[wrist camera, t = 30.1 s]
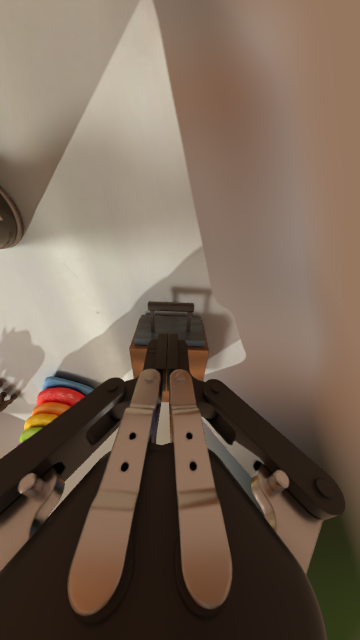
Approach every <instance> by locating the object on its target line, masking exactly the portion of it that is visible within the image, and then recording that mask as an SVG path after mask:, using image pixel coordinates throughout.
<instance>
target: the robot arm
mask: <svg viewBox="0 0 360 640" xmlns="http://www.w3.org/2000/svg"><path fill="white" fill-rule="evenodd" d="M22 233H23V225H22V220H21V217H20V214H19V212H18V210H17V208H16V206H15V204H14V203H13V201H12V200H11V198H10V197H9V196H8V195H7V194H6V192H5V191H4V190H3V189H2V188H1V187H0V249H5V248H10V247H13V246H15V245H16V244H17V243H18V242H19V241H20V240H21V237H22ZM166 375H167V391H169V414H170V435H171V436H170V439H171V440H170V441H171V443H168V444H165V445H158V444H156V435H157V427H158V421H159V414H160V407H161V401H162V392H163V391H166ZM202 421H203V422H204V423H205V424H206V425H207V426H208V428H209V429H210V430H211V431H212V432H213V433H214V434H215V436H216V437H217V438H218V439H219V440H220V441H221V442H222V444H223V445H224V446H225V447H226V448H227V450H228V451H229V452H230V453H231V454H232V455H233V457H234V458H235V459H236V460H237V461H238V462H239V463H240V465H241V466H242V467H243V468H244V469H245V470H246V472H247V473H248V474H249V475H250V476H251V477H252V480H251V485H252V486H251V487H252V491H253V494H254V496H255V498H256V500H257V501H258V503H259V505H260V506H261V508H262V510H263V512H264V515H265V517H264V516H263V514H262V513H261V512H260V510H259V509H258V508H257V507H256V505H255V504H254V503H253V502H252V500H251V499H250V497H249V496H248V495H247V493H246V492H245V491H244V489H243V488H242V487H241V485H240V484H239V483H238V482H237V480H236V479H235V478H234V476H233V475H232V474H231V472H230V471H229V470H228V469H227V467H226V466H225V465H224V463H223V462H222V461H221V459H220V458H219V457H218V456H217V455H216V454H215V453H214V452H212V451H211V450H210V449H208V448H207V443H206V439H205V433H204V428H203V423H202ZM118 427H119V430H118V432H117V436H116V439H115V441H114V445H113V447H112V450H111V451H110V452H108V453H107V454H105V455H104V456H103V457H102V458H101V459H100V460H99V461H98V462H97V463H96V464H95V465H94V466H93V467H92V469H91V470H90V471H89V472H88V473H87V474H86V475H85V476H84V478H83V479H82V480H81V481H80V482H79V484H77V485H76V487H75V488H74V489H73V490H72V491H71V492H70V493H69V494H68V496H67V497H66V498H65V499H64V500H63V501H62V502H61V503H60V505H59V506H58V507H57V508H56V509H55V510H54V512H52V514H51V515H50V516H49V517H48V515H49V514H50V512H51V511H52V510H53V508H54V507H55V506H56V505H57V503H58V502H59V500H60V498H61V496H62V494H63V491H64V485H65V483H64V482H65V481H66V480H67V479H68V478H69V477H70V476H71V475H72V474H73V473H74V472H75V470H77V468H79V467H80V466H81V464H83V463H84V461H86V460H87V459H88V458H89V456H90V455H91V454H92V453H93V452H94V451H95V450H96V449H97V448H98V447H99V446H100V445H101V444H102V443H103V442H104V441H105V440H106V439H107V438H108V437H109V436H110V435H111V434H112V433H113V432H114V431H115V430H116V429H117V428H118ZM344 510H345V500H344V497H343V494H342V492H341V490H340V488H339V487H338V485H337V484H336V483H335V481H334V480H333V479H332V478H331V477H330V476H329V475H328V474H327V473H326V472H325V471H324V470H323V469H321V468H320V467H319V466H318V465H317V464H316V463H315V462H313V461H312V460H311V459H310V458H309V457H308V456H306V455H305V454H304V453H303V452H302V451H301V450H299V449H298V448H297V447H296V446H295V445H294V444H293V443H292V442H290V441H289V440H288V439H287V438H286V437H285V436H283V435H282V434H281V433H280V432H279V431H277V429H275V428H274V427H273V426H272V425H271V424H270V423H268V422H267V421H266V420H265V419H264V418H263V417H261V416H260V415H259V414H258V413H257V412H256V411H255V410H253V409H252V408H251V407H250V406H249V405H248V404H246V403H245V402H244V401H243V400H242V399H241V398H240V397H238V396H237V395H236V394H235V393H234V392H233V391H232V390H230V389H229V388H228V387H227V386H226V385H225V384H223V383H222V382H221V381H219V380H216V379H210V380H208V381H207V382H203V381H200V380H197V379H196V378H194V377H193V376H192V375H191V373H190V369H189V357H188V346H187V343H186V342H185V340H178V333H169V337H168V333H159V334H158V339H151V341H150V342H149V343H148V347H147V352H146V357H145V362H144V367H143V371H142V372H141V373H140V375H139V376H138V377H136V378H135V379H132V380H129V381H125V382H124V381H123V380H122V379H120V378H111V379H108V380H107V381H105V382H104V383H102V384H101V385H100V386H98V387H97V388H96V389H94V390H93V391H92V392H90V393H89V394H88V395H86V396H85V397H84V398H82V399H81V400H79V401H78V402H77V403H75V404H74V405H73V406H71V407H70V408H69V409H67V410H66V411H65V412H63V413H62V414H61V415H59V416H58V417H57V418H55V419H54V420H53V421H51V422H50V423H48V424H47V425H46V426H44V427H43V428H42V429H40V430H39V431H38V432H36V433H35V434H34V435H32V436H31V437H30V438H28V439H27V440H26V441H24V442H23V443H22V444H20V445H19V446H17V447H16V448H15V449H13V450H12V451H11V452H9V453H8V454H7V455H5V456H4V457H3V458H1V459H0V640H327V637H326V631H325V626H324V622H323V618H322V614H321V611H320V608H319V605H318V602H317V599H316V596H315V594H314V591H313V589H312V587H311V584H310V582H309V580H308V578H307V576H306V573H307V570H308V567H309V564H310V560H311V557H312V554H313V551H314V548H315V544H316V541H317V538H318V535H319V531H320V528H321V525H322V522H323V521H324V520H325V519H328V518H332V517H335V516H338V515H341V514H342V513H343V512H344ZM47 517H48V518H47Z"/></svg>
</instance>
